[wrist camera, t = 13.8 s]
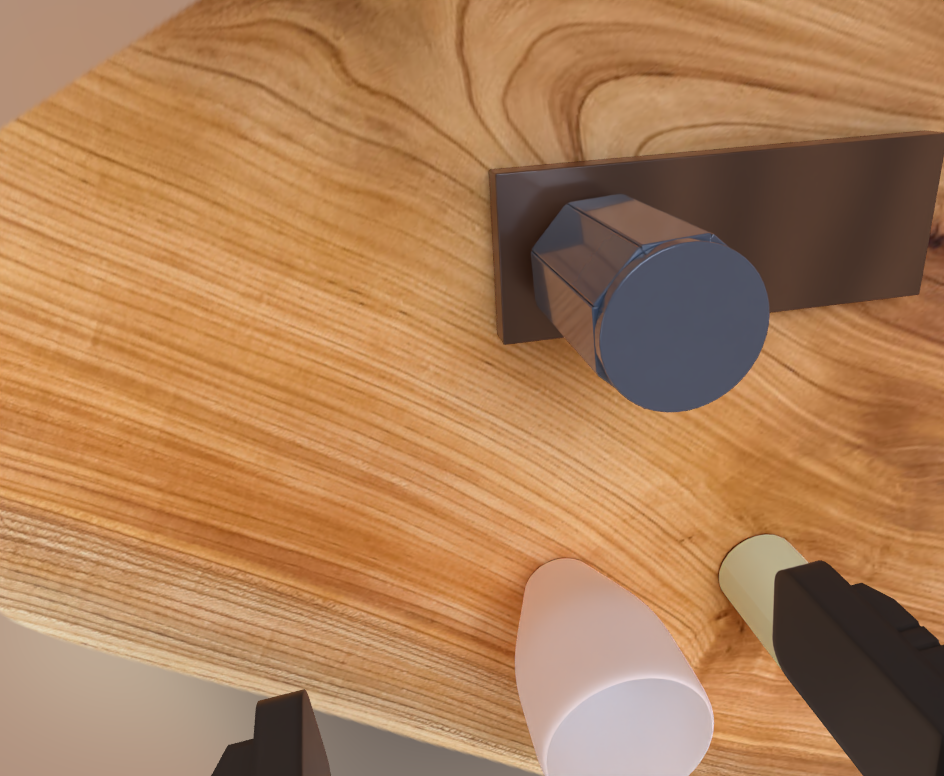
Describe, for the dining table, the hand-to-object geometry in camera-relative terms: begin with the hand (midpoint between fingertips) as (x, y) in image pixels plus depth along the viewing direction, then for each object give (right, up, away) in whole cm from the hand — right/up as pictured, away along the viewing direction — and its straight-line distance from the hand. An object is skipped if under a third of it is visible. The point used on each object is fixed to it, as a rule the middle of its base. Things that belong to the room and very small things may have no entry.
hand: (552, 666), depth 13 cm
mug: (+4, -9, +33) cm, 34 cm away
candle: (+16, -6, +34) cm, 38 cm away
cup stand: (+10, +12, +25) cm, 30 cm away
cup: (+4, +10, +21) cm, 24 cm away
